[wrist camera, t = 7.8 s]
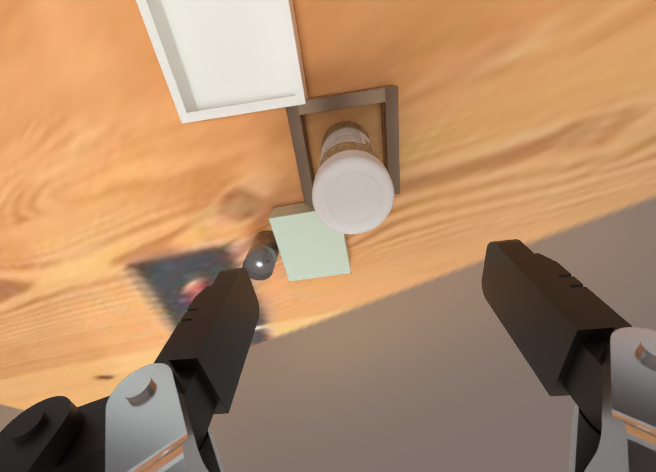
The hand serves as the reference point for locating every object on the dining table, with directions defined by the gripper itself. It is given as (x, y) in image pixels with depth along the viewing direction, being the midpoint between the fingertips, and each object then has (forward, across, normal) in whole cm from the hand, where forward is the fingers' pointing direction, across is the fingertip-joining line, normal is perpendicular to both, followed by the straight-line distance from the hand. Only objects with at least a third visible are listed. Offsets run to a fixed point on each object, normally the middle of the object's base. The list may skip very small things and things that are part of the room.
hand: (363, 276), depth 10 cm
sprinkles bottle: (+20, 0, 0) cm, 20 cm away
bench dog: (+20, +10, +10) cm, 24 cm away
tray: (+20, +8, -10) cm, 24 cm away
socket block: (+20, 0, 0) cm, 20 cm away
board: (+20, +5, +9) cm, 23 cm away
